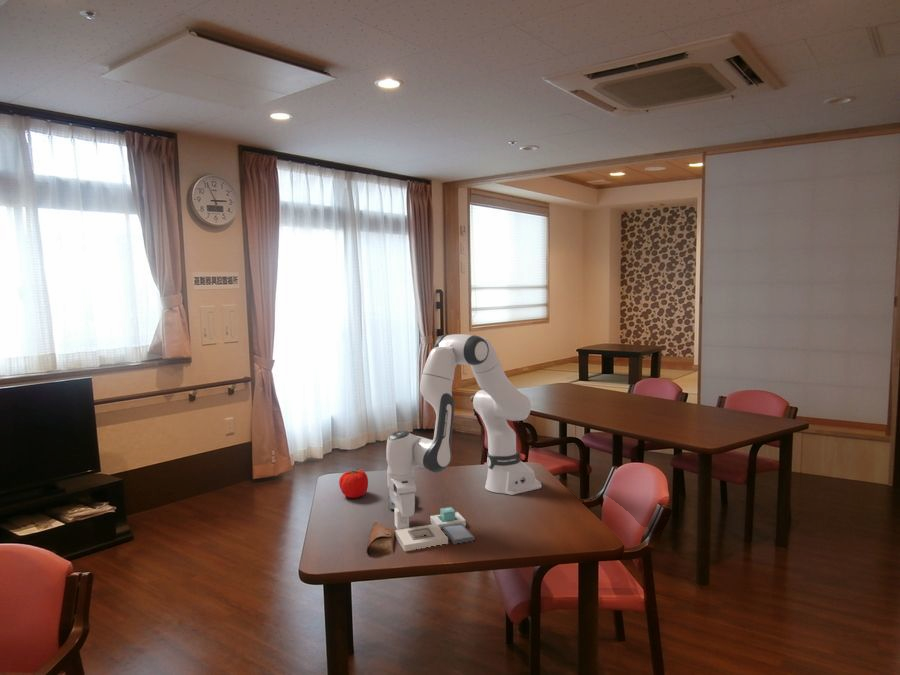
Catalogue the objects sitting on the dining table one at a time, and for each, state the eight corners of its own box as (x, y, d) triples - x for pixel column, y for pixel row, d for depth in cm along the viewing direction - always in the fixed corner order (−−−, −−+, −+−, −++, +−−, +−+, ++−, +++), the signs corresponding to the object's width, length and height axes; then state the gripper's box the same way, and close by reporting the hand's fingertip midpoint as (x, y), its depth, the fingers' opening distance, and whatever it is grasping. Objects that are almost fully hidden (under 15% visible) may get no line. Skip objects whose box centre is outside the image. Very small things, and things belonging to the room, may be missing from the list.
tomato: (371, 490, 235) (370, 464, 235) (365, 501, 223) (364, 475, 222) (343, 490, 236) (342, 465, 235) (336, 502, 223) (335, 475, 222)
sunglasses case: (395, 554, 178) (383, 536, 177) (375, 566, 178) (363, 548, 177) (397, 529, 195) (386, 513, 195) (379, 541, 195) (368, 524, 195)
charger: (406, 523, 201) (405, 505, 200) (409, 527, 197) (408, 509, 197) (394, 525, 200) (394, 507, 199) (397, 529, 196) (397, 511, 195)
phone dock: (457, 517, 205) (457, 511, 205) (479, 540, 186) (478, 534, 186) (430, 521, 202) (430, 516, 201) (449, 545, 183) (448, 539, 183)
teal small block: (451, 521, 202) (451, 506, 202) (455, 525, 198) (455, 510, 198) (440, 522, 201) (440, 508, 200) (444, 527, 197) (443, 512, 197)
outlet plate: (436, 529, 195) (436, 523, 195) (448, 544, 184) (447, 537, 184) (395, 536, 191) (395, 529, 190) (404, 551, 179) (404, 544, 179)
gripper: (384, 472, 206) (385, 510, 207) (398, 490, 187) (400, 533, 188) (401, 470, 208) (403, 508, 209) (417, 488, 189) (419, 530, 190)
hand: (401, 520), depth 198 cm, fingers closed on charger, 4 cm apart
